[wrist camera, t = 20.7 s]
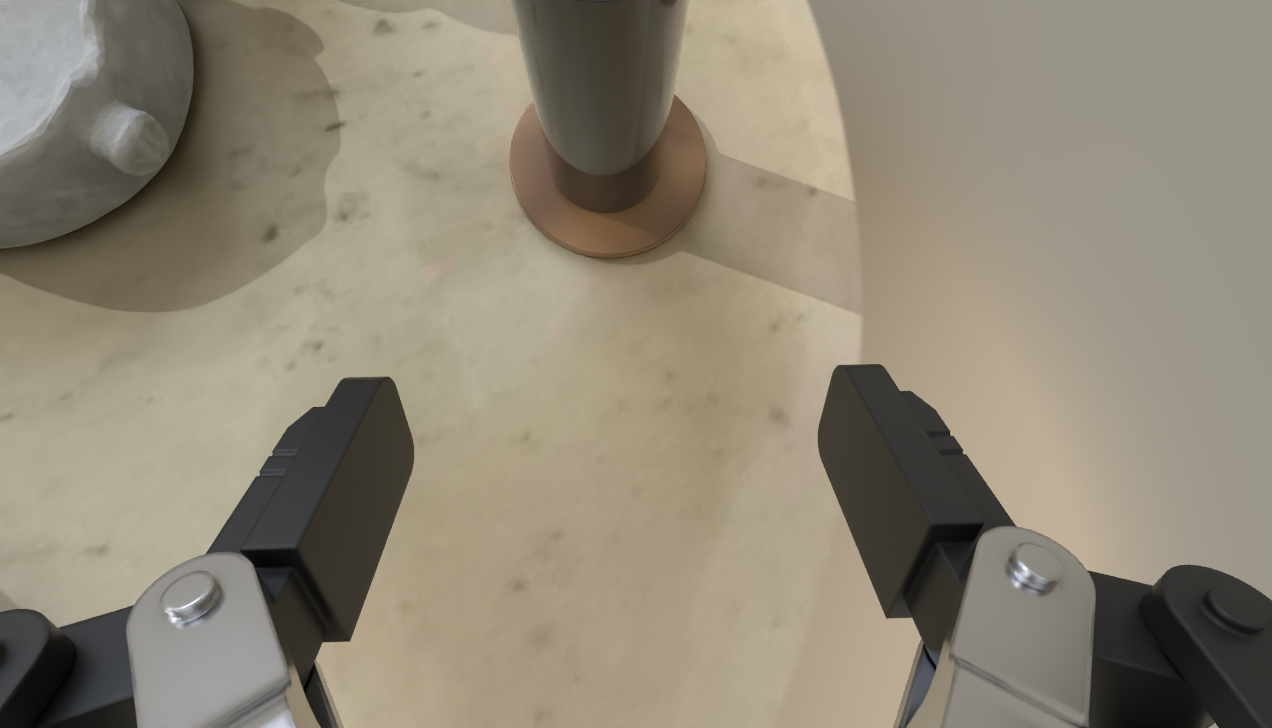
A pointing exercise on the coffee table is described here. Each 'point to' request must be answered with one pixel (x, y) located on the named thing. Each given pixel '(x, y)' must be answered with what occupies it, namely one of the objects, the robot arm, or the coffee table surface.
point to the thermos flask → (602, 92)
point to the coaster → (616, 229)
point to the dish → (86, 108)
